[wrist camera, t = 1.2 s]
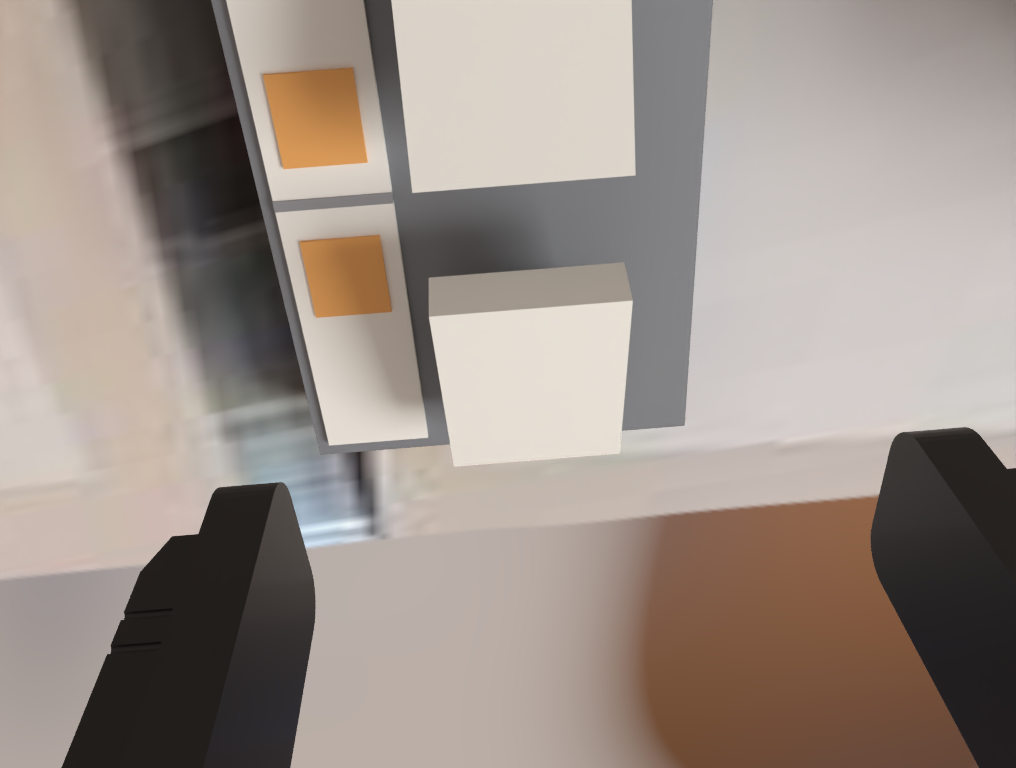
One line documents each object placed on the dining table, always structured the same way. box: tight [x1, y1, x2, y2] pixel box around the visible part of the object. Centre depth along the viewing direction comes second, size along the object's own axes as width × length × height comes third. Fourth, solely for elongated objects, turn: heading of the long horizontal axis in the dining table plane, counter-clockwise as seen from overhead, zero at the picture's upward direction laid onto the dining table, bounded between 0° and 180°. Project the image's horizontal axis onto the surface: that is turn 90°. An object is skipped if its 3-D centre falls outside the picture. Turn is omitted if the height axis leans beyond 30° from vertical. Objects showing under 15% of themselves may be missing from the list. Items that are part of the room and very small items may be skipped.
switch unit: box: [211, 0, 713, 455], centre depth 22 cm, size 26×12×4 cm, turn 4°
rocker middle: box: [391, 0, 636, 193], centre depth 19 cm, size 6×5×1 cm
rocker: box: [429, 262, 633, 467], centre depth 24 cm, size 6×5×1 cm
